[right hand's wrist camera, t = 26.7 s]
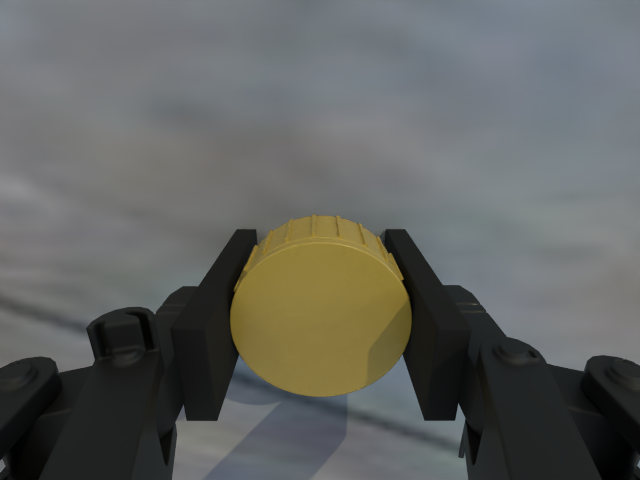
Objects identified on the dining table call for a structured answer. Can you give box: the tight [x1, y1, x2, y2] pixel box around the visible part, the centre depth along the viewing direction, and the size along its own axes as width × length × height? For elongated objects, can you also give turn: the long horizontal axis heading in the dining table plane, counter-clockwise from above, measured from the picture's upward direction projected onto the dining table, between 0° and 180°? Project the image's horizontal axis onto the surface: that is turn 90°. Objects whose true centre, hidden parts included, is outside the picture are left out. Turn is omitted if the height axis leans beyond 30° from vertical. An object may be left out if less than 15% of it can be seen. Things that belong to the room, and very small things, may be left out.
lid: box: [230, 214, 412, 397], centre depth 11 cm, size 5×5×2 cm
